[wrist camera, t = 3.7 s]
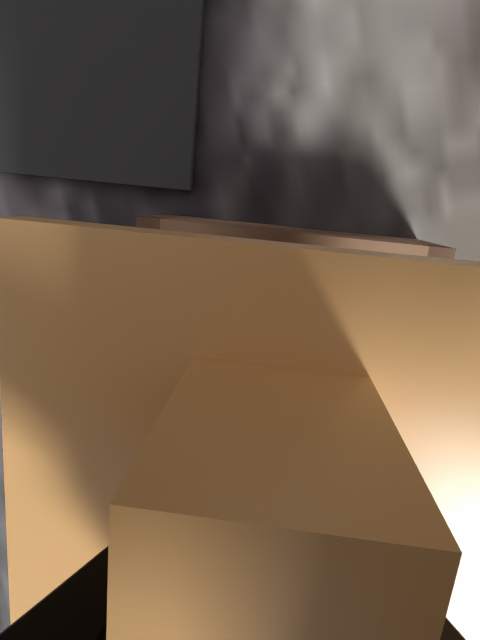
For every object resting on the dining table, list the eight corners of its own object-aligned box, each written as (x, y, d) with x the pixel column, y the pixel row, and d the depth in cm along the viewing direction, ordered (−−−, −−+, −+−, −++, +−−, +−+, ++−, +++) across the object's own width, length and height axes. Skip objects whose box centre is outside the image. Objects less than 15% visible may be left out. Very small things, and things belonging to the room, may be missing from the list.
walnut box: (417, 239, 18) (456, 248, 14) (374, 465, 20) (396, 526, 16) (165, 214, 18) (135, 216, 14) (154, 436, 21) (125, 489, 17)
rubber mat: (209, -78, 16) (207, -87, 15) (192, 190, 18) (189, 190, 18) (-66, -96, 16) (-77, -105, 16) (-49, 167, 19) (-58, 166, 18)
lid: (553, 266, 9) (1055, 377, 3) (445, 669, 11) (612, 1135, 6) (46, 215, 9) (-313, 229, 4) (52, 609, 12) (-154, 977, 6)
